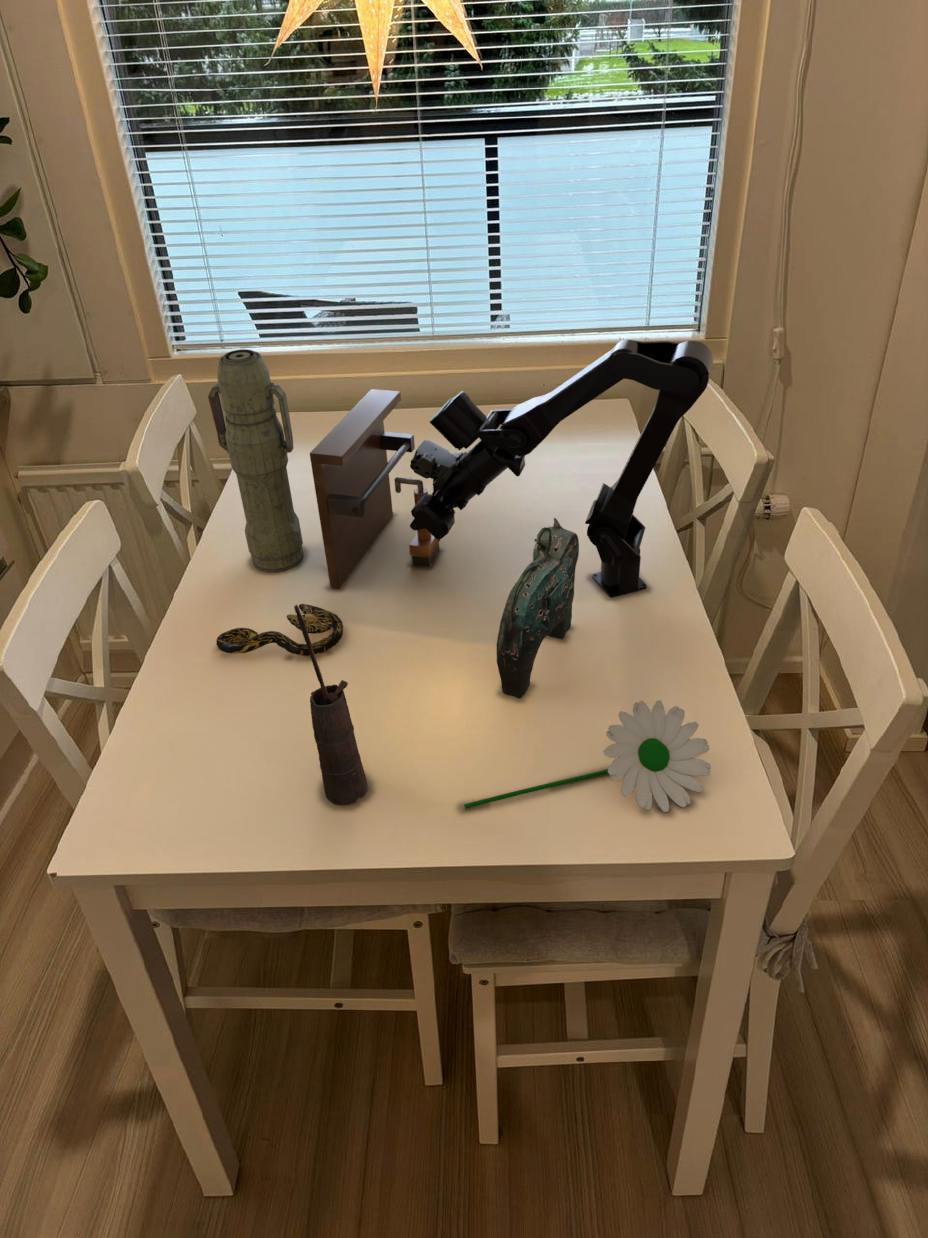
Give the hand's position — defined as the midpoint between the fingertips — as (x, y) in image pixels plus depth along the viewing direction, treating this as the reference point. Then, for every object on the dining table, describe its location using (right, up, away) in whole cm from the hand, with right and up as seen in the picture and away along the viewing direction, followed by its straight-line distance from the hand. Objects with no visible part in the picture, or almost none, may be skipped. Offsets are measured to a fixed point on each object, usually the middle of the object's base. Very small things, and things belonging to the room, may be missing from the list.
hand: (415, 522), depth 150 cm
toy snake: (-19, -19, -13) cm, 30 cm away
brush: (0, -5, +4) cm, 7 cm away
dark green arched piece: (+19, -21, -19) cm, 34 cm away
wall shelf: (-6, -4, +6) cm, 9 cm away
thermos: (-23, -6, +5) cm, 25 cm away
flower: (+23, -35, -38) cm, 57 cm away
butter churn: (-6, -36, -37) cm, 52 cm away
